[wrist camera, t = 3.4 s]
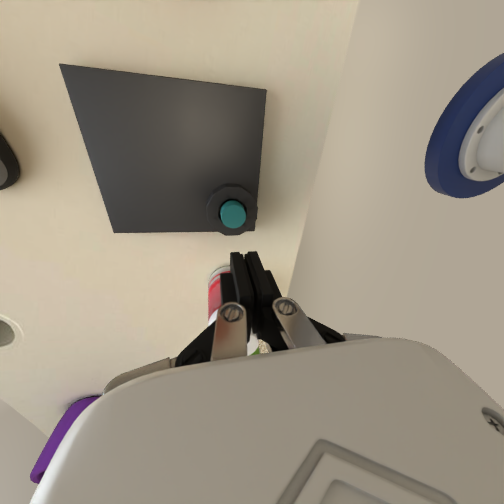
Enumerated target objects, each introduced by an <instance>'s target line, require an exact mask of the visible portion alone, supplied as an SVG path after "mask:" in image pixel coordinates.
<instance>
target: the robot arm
mask: <svg viewBox="0 0 504 504" xmlns="http://www.w3.org/2000/svg"><path fill="white" fill-rule="evenodd" d="M458 161H459V169H460V172H461V173H462V175H463V176H464V177H466V178H467V179H470V180H475V181H487V180H491V179H494V178H496V177H499V176H500V175H502V174H504V88H503V89H502V90H500V91H499V92H498V93H497V94H496V95H495V96H494V97H493V98H492V99H491V100H490V101H489V102H488V103H487V104H486V105H485V106H484V107H483V109H482V110H481V111H480V112H479V114H478V115H477V116H476V118H475V119H474V121H473V122H472V124H471V126H470V127H469V129H468V131H467V133H466V135H465V137H464V139H463V142H462V145H461V148H460V152H459V159H458ZM220 295H221V306H220V307H219V309H218V311H217V317H216V320H215V321H214V322H213V323H212V324H211V325H209V326H208V327H207V328H206V329H205V330H204V331H203V332H202V333H201V334H200V335H199V336H198V337H197V338H196V339H194V340H193V341H192V342H191V343H190V344H189V345H188V346H187V347H186V348H185V349H184V350H183V351H182V352H181V353H180V354H179V355H178V357H175V358H173V359H170V358H166V359H163V360H160V361H157V362H154V363H152V364H149V365H146V366H143V367H140V368H137V369H134V370H132V371H129V372H126V373H123V374H121V375H119V376H117V377H115V378H114V379H113V380H112V381H111V382H109V384H108V385H107V386H106V388H105V389H104V392H103V395H102V396H101V397H100V398H98V399H97V400H95V401H94V402H93V403H91V404H90V405H89V406H88V407H87V408H86V409H85V410H84V411H83V412H82V413H81V414H80V415H79V416H78V417H77V419H76V420H75V421H74V423H73V424H72V426H71V427H70V429H69V430H68V432H67V433H66V435H65V436H64V438H63V440H62V441H61V443H60V445H59V447H58V448H57V450H56V452H55V454H54V456H53V458H52V459H51V461H50V463H49V465H48V467H47V469H46V471H45V473H44V475H43V477H42V479H41V481H40V483H39V485H38V487H37V489H36V491H35V493H34V495H33V497H32V499H31V501H30V504H504V409H502V407H501V406H500V405H499V404H497V403H496V402H495V401H494V400H493V399H492V398H491V397H490V396H489V395H488V394H487V393H486V392H485V391H484V390H483V389H481V387H479V386H478V385H477V384H476V383H475V382H474V381H473V380H472V379H471V378H470V377H469V376H468V375H466V374H465V373H464V372H463V371H462V370H461V369H460V368H459V367H457V366H456V365H455V364H454V363H453V362H452V361H451V360H449V359H448V358H447V357H446V356H444V355H443V354H442V353H440V352H439V351H437V350H436V349H434V348H432V347H430V346H428V345H426V344H423V343H420V342H417V341H412V340H407V339H401V338H382V337H378V336H370V335H359V334H347V333H343V335H341V334H339V333H338V332H336V331H335V330H333V329H331V328H329V327H327V326H325V325H323V324H321V323H319V322H317V321H315V320H313V319H311V318H309V317H307V316H306V315H305V313H304V312H303V310H302V309H301V308H300V306H299V305H298V304H297V303H296V302H295V301H294V300H292V299H290V298H286V297H282V295H281V293H280V291H279V289H278V286H277V284H276V282H275V280H274V278H273V275H272V273H271V271H270V270H264V268H263V266H262V263H261V261H260V258H259V256H258V253H257V251H253V252H248V254H245V257H243V254H240V253H239V252H231V253H230V273H220ZM251 328H252V333H253V334H256V336H257V340H258V339H261V340H263V341H265V342H266V347H267V350H268V352H269V353H263V354H256V355H250V356H247V344H248V342H249V341H250V334H251Z"/></svg>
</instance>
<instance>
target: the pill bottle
mask: <svg viewBox="0 0 504 504" xmlns="http://www.w3.org/2000/svg"><path fill="white" fill-rule="evenodd" d="M220 273H230V266H227V267H222V268H220V269H218V270H216V271H215V272H214V273H213V274H212V275H211V277H210V279H209V286H208V290H209V294H208V302H209V303H208V310H209V312H208V313H209V314H208V315H209V317H208V321H209V322H208V323H209V325H211V324H212V323H213V322H214V321H215V320H216V317H217V311H218V309H219V307H220V306H221V295H220ZM258 345H259V341H258V340H257V336H256V334H253V333H252V328H251V334H250V341H249V342H248V344H247V356H249V355H251V354H252V353H253V352H255V351H256V349H257V348H258Z"/></svg>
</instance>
